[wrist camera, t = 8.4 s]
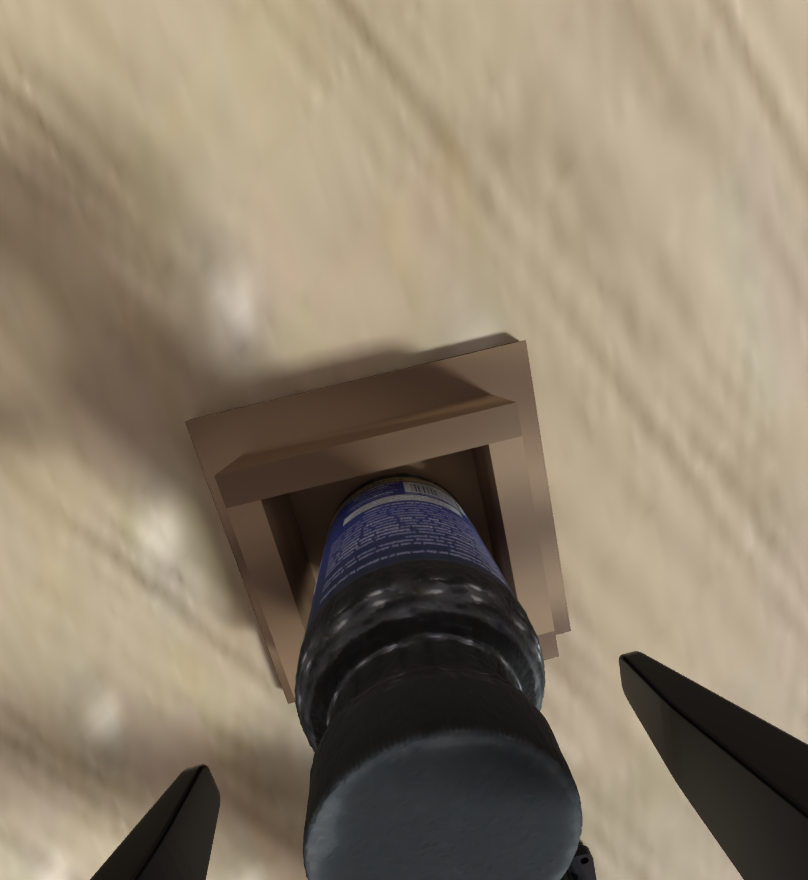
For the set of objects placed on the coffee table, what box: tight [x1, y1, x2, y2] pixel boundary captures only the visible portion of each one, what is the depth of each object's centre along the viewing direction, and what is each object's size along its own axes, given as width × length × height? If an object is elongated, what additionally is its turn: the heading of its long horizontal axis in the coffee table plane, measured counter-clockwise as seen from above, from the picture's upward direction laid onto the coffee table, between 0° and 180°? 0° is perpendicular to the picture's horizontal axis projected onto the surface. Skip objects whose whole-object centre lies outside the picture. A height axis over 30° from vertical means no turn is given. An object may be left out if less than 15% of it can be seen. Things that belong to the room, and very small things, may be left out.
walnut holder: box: [185, 340, 571, 704], centre depth 16 cm, size 14×14×4 cm
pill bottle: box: [294, 473, 582, 880], centre depth 12 cm, size 6×6×11 cm
